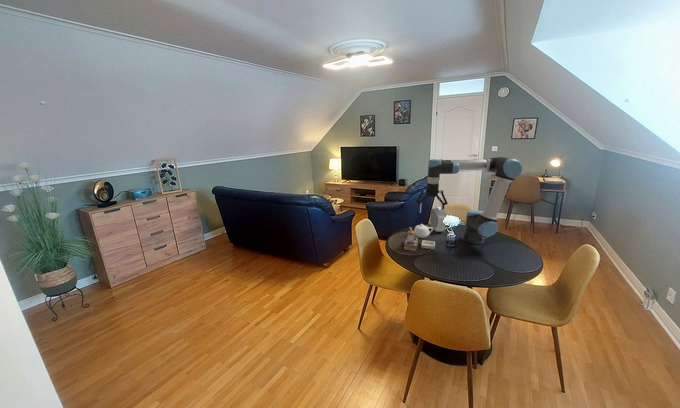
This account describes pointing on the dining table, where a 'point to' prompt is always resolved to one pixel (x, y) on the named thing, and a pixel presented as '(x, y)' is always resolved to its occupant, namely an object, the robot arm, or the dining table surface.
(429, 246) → the tray
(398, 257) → the dining table surface
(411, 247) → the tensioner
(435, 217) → the grey piece
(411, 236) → the pin
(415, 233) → the teapot
